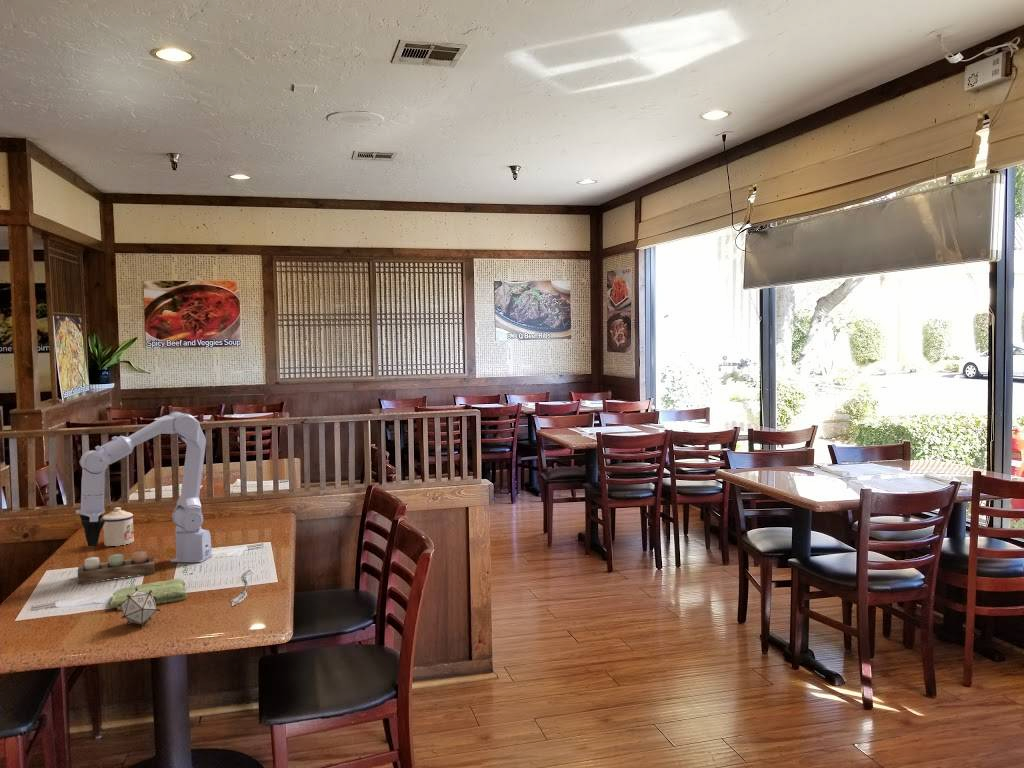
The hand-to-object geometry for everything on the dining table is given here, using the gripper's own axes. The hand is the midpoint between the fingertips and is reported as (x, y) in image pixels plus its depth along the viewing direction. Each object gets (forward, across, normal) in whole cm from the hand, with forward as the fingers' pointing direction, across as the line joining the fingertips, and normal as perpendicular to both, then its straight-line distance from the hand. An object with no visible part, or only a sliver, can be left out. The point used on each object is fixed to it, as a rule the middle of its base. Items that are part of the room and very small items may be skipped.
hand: (91, 542), depth 219 cm
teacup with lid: (+9, -37, +11) cm, 40 cm away
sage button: (+7, +1, +6) cm, 9 cm away
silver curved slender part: (+8, +31, +34) cm, 47 cm away
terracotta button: (+6, +1, +12) cm, 14 cm away
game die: (+10, +45, +8) cm, 47 cm away
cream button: (+7, 0, 0) cm, 7 cm away
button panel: (+10, +1, +7) cm, 12 cm away
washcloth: (+10, +27, +12) cm, 31 cm away
